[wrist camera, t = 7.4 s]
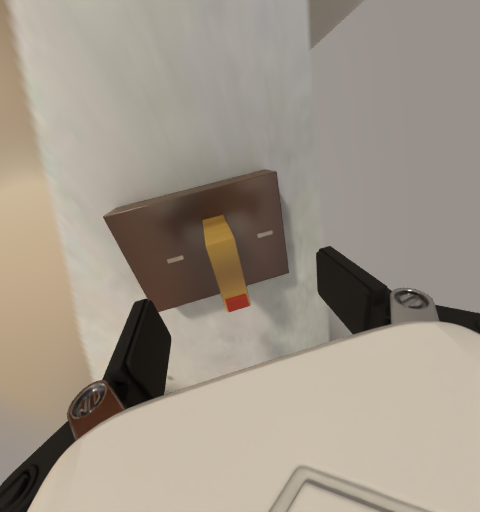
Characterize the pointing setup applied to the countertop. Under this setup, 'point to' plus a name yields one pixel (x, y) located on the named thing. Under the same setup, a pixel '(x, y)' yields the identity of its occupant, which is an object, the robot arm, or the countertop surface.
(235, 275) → the thumbturn
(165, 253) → the plate
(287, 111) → the countertop surface
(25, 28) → the countertop surface
